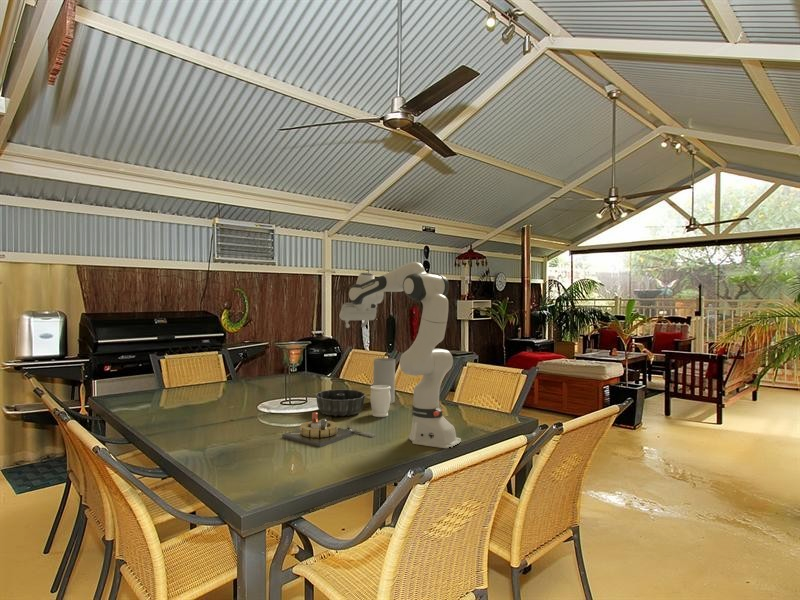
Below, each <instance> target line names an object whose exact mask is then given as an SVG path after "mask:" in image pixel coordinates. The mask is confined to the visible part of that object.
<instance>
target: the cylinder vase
mask: <svg viewBox="0 0 800 600" xmlns="http://www.w3.org/2000/svg"><path fill="white" fill-rule="evenodd" d="M372 379H373V382H372V383H373V385H387V386H391V389H390V394H391V401H390V405H392V404H394V403H395V401H396V400H395V394H396V390H395V388H396V359H394V358H387V357H382V358H381V357H380V358H379V357H378V358H374V359H373V378H372ZM373 385H372V386H373Z"/></svg>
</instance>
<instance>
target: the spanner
mask: <svg viewBox="0 0 800 600" xmlns="http://www.w3.org/2000/svg"><path fill="white" fill-rule="evenodd" d="M346 427H347V428H345V429H346V430H351V431H354V433H356V435H359V434H361V435H360V436H364V437H368V436H369V438H375V437H376V433H372V432H368V431H363V430H357V429H354V428H352V427H350V425H347V426H346Z"/></svg>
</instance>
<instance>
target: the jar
mask: <svg viewBox="0 0 800 600" xmlns="http://www.w3.org/2000/svg"><path fill="white" fill-rule="evenodd" d="M390 389H391V386H387V385H370V397H369V401H370V408H371V411H372V413H371V416H373V417H375V418H376V417H377V418H384V417H388V416H389V410H390V406H391V404H390V401H391V394H390Z"/></svg>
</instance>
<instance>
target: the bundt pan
mask: <svg viewBox="0 0 800 600" xmlns="http://www.w3.org/2000/svg"><path fill="white" fill-rule="evenodd" d="M366 395H367V394H366V392H365V393H364V392H363V391H359V390H355V389H349V388H348V389H339V388H338V389H336V388H335V389H327V390H322V391H321V390H320V391H319V392H316V394H315V396H314V397H315V398H316V404H317V409H318V410H319V411H320V413H322V415H326V416H333V417H335V418H336V417H337V416H338V417H345V416H347V417H350V416H353V415H356V414H359V413H360V412H361V411H362V410H363V407H364V401H365V398H366Z"/></svg>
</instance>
